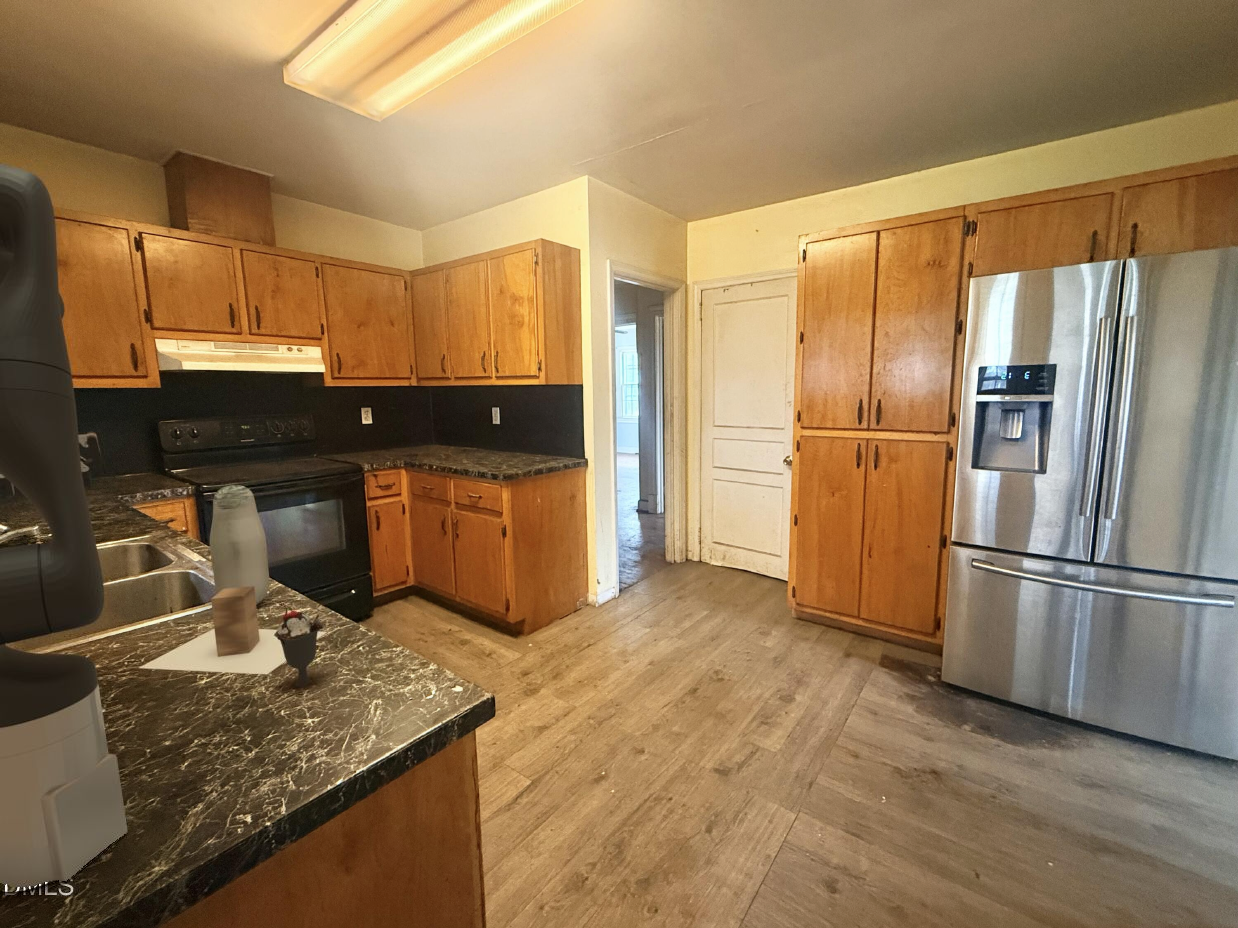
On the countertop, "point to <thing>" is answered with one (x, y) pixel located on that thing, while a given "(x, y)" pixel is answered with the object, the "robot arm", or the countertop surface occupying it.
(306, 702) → the countertop surface
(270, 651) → the cream sheet of paper
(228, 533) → the glass bottle
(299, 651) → the sundae
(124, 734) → the countertop surface
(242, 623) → the walnut block
